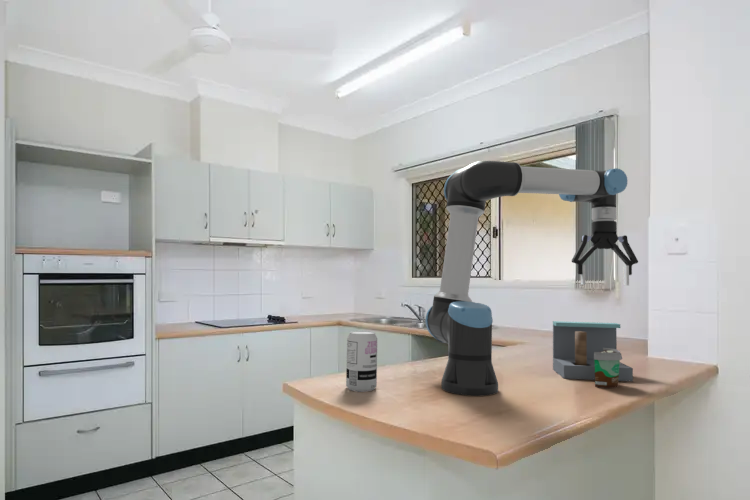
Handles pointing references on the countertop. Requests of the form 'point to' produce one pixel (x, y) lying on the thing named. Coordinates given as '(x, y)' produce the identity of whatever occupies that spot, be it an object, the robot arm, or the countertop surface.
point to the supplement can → (361, 361)
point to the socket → (596, 341)
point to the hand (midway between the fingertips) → (604, 285)
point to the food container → (607, 368)
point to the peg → (580, 348)
